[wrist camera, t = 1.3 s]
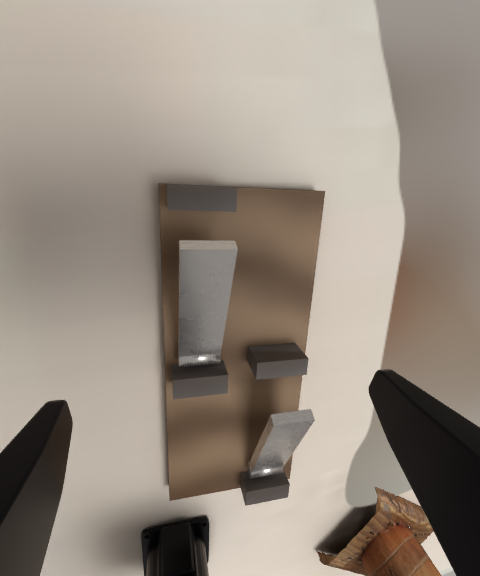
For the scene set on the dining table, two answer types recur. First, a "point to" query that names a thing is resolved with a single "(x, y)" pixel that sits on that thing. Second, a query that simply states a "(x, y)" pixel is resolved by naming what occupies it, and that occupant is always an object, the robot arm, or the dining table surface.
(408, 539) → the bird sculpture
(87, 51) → the dining table surface
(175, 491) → the walnut board
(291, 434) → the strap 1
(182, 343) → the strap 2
